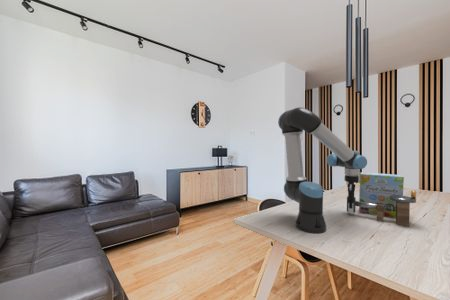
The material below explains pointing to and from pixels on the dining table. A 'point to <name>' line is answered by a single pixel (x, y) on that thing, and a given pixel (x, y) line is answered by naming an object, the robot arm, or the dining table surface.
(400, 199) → the lock wheel
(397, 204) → the notched wooden block
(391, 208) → the cube-head mallet
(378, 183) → the snack box
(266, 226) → the dining table surface
